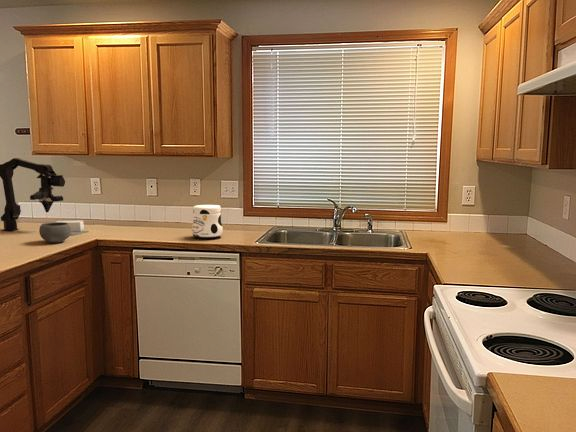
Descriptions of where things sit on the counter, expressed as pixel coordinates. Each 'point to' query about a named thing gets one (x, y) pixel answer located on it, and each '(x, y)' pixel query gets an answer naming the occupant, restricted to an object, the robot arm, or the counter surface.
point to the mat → (77, 232)
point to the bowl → (54, 231)
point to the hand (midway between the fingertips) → (47, 212)
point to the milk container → (207, 221)
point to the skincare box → (75, 225)
